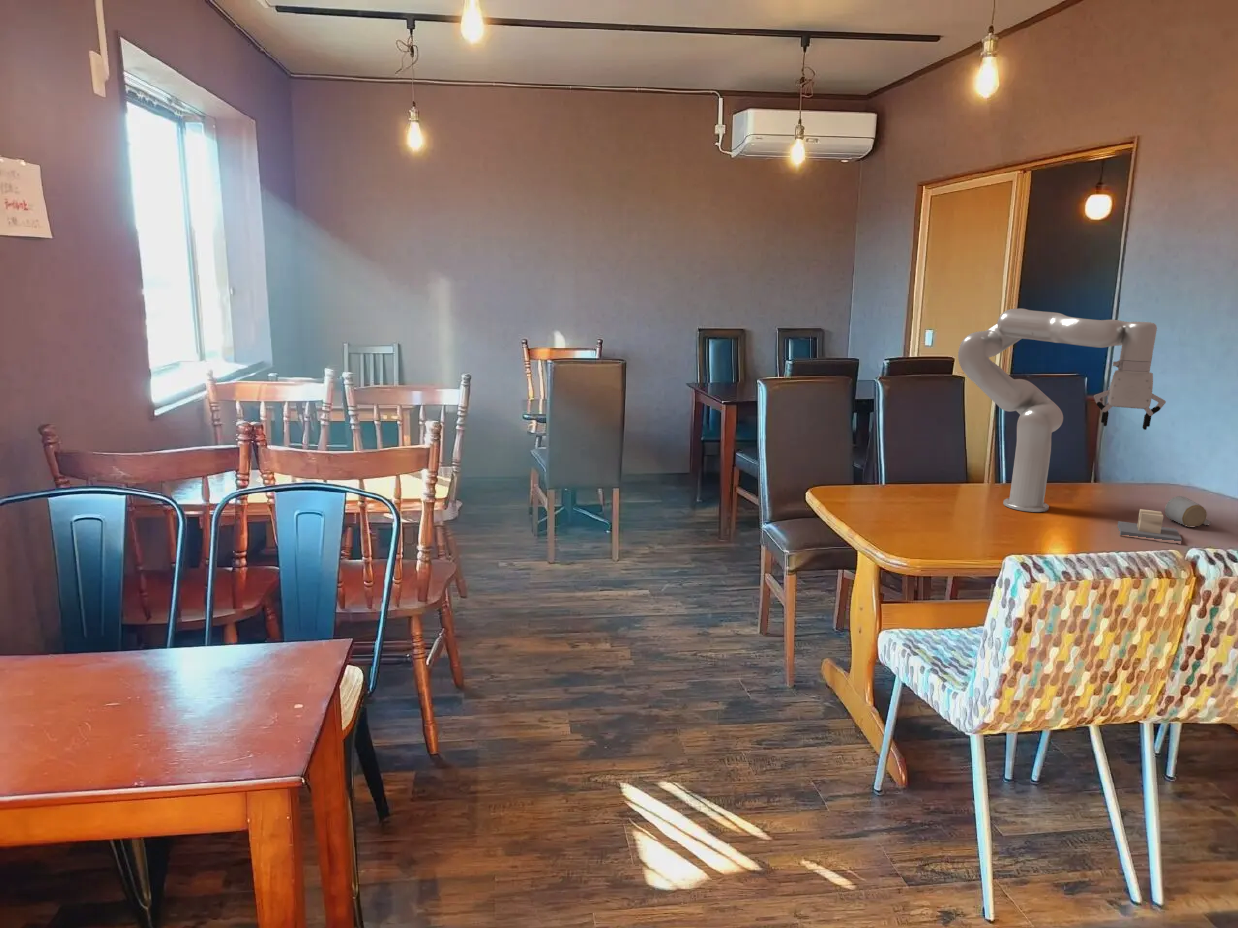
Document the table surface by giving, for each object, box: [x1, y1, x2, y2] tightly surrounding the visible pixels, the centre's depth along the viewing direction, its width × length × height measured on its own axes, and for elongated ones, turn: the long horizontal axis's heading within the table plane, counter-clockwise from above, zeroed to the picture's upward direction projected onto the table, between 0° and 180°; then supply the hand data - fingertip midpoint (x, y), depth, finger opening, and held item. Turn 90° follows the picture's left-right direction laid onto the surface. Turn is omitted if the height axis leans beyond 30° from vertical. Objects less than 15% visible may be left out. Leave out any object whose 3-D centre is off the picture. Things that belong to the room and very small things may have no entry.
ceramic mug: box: [1164, 495, 1212, 527], centre depth 235 cm, size 11×8×8 cm
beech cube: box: [1137, 508, 1164, 534], centre depth 224 cm, size 5×5×5 cm
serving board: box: [1117, 520, 1183, 541], centre depth 225 cm, size 11×14×2 cm
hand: (1124, 427), depth 229 cm, fingers open, 9 cm apart
